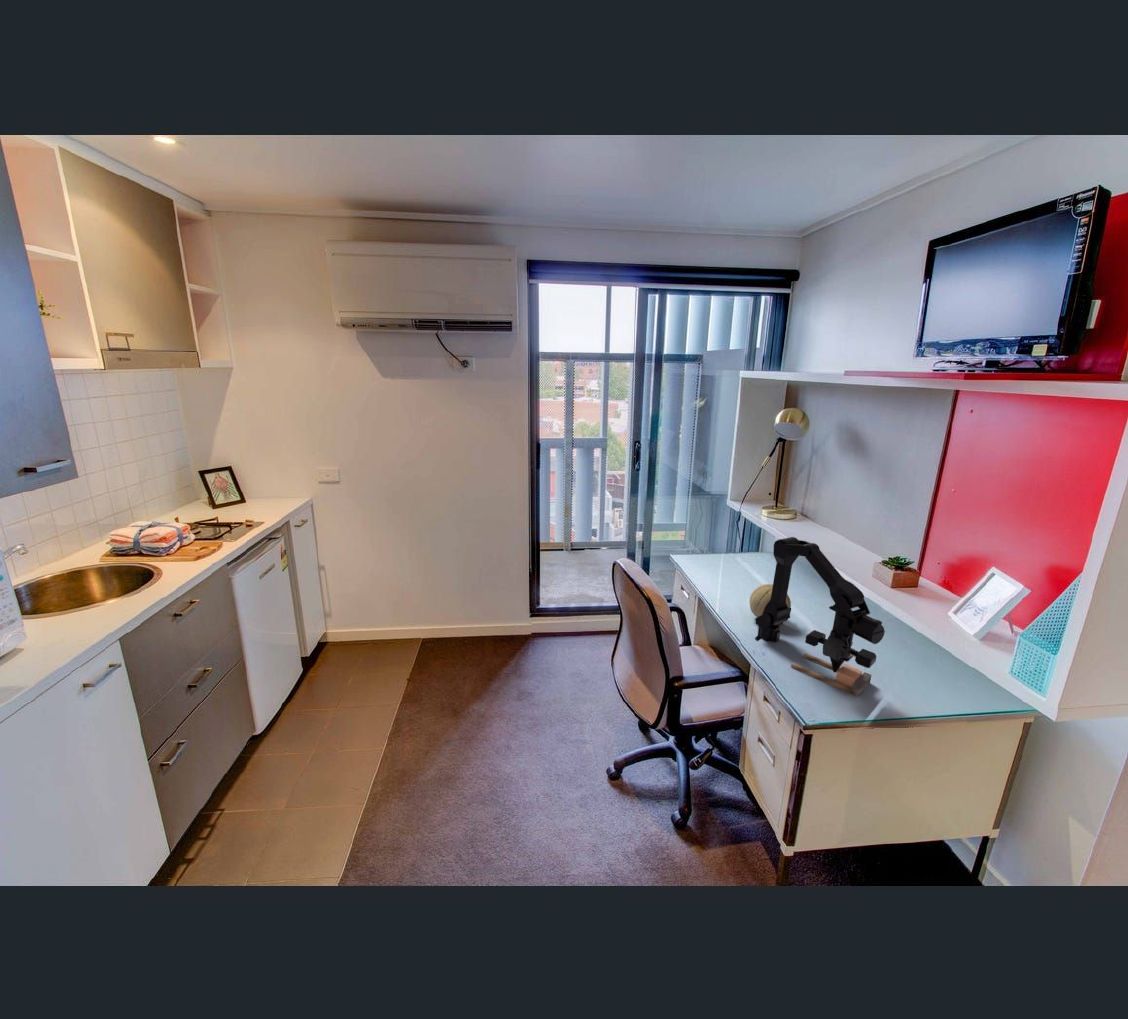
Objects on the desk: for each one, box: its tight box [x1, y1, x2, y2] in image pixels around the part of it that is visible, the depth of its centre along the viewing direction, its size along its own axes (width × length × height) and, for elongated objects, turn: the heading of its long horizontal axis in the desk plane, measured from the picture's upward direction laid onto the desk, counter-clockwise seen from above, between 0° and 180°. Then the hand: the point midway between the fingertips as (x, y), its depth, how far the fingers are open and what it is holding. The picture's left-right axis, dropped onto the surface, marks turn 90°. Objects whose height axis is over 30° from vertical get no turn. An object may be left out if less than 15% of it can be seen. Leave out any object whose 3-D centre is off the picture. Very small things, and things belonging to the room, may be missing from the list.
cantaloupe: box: [749, 583, 792, 618], centre depth 190 cm, size 15×15×15 cm
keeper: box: [835, 663, 863, 688], centre depth 152 cm, size 5×6×4 cm
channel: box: [790, 652, 872, 697], centre depth 156 cm, size 20×10×4 cm, turn 41°
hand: (835, 671), depth 154 cm, fingers closed
